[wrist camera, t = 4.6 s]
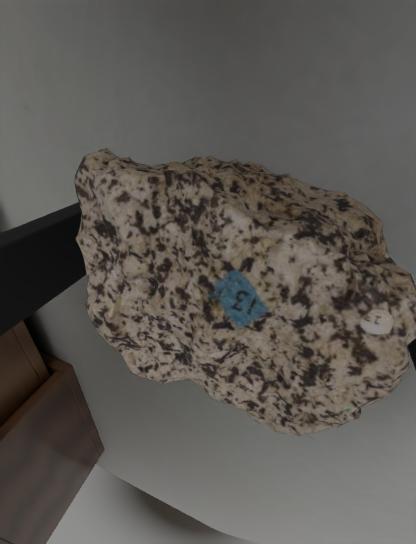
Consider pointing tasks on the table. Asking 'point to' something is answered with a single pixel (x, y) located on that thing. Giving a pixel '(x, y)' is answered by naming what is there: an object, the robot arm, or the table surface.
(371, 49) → the table surface
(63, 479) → the cabinet
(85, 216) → the stone
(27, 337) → the drawer
